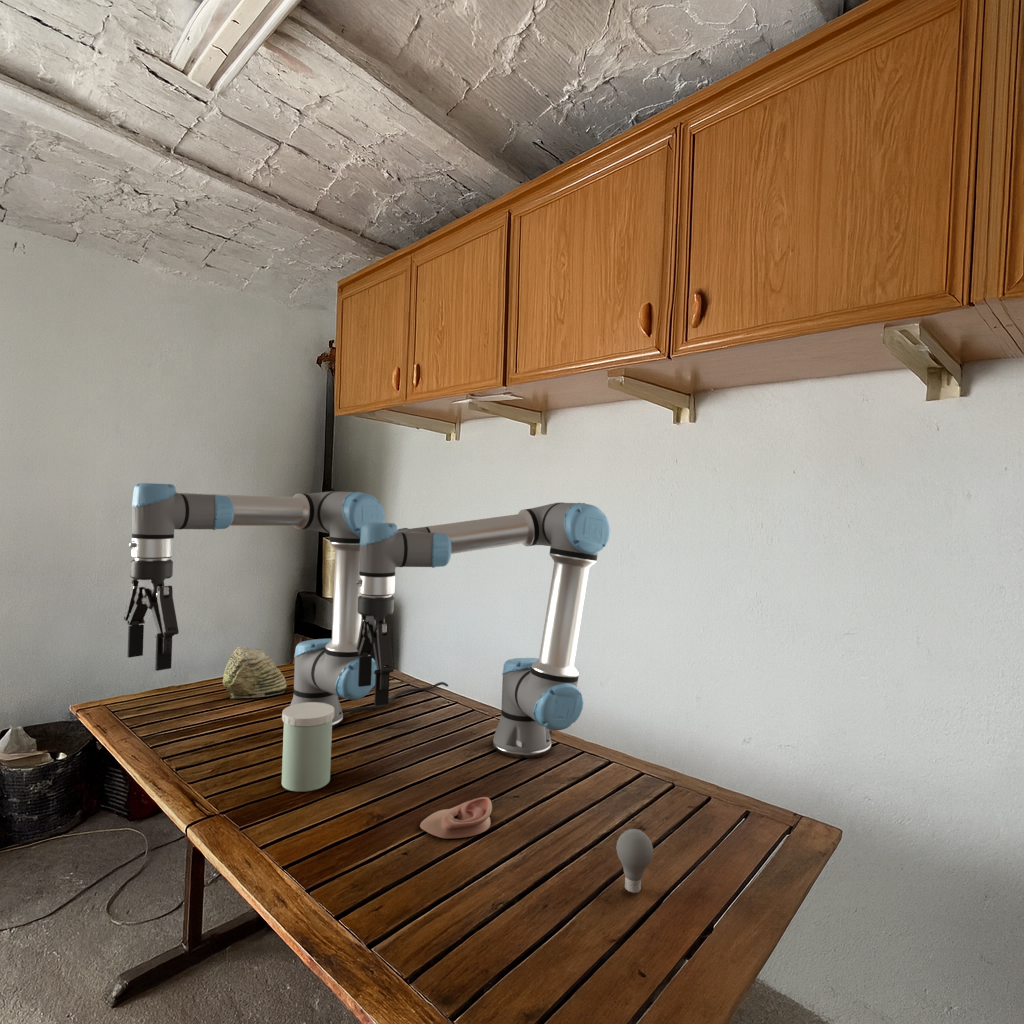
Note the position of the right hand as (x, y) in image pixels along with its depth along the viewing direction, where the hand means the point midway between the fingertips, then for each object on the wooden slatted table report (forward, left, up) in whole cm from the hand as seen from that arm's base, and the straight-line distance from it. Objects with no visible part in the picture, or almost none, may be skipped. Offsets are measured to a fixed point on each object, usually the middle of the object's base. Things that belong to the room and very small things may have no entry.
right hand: (372, 694), depth 135 cm
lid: (+11, -12, -6) cm, 17 cm away
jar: (+11, -12, -22) cm, 27 cm away
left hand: (+42, -16, +6) cm, 46 cm away
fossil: (+16, -79, -22) cm, 83 cm away
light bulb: (-32, +49, -22) cm, 63 cm away
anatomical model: (-13, +18, -22) cm, 31 cm away
